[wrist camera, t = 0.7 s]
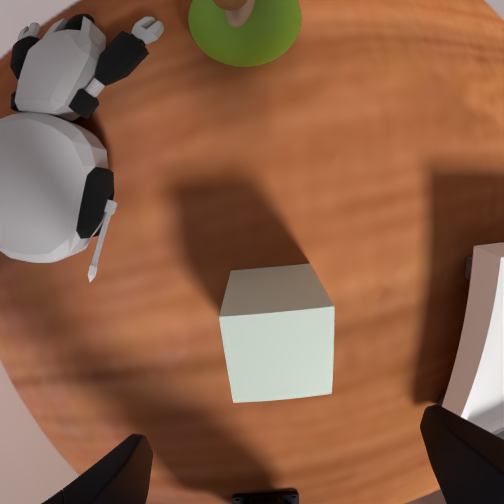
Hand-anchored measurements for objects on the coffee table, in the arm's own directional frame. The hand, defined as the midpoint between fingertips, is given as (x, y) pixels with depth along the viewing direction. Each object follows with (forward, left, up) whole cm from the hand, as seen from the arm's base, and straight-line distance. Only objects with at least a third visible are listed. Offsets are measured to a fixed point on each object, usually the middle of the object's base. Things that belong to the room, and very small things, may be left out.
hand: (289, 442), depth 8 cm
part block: (0, 0, -11) cm, 11 cm away
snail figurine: (+16, 0, -11) cm, 19 cm away
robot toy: (+12, +12, -11) cm, 20 cm away
